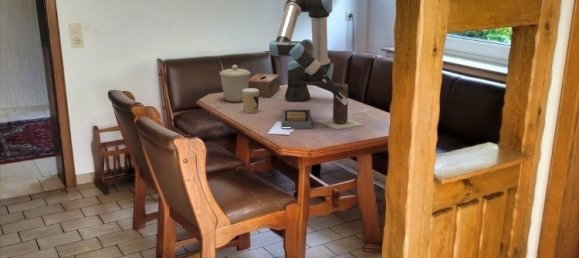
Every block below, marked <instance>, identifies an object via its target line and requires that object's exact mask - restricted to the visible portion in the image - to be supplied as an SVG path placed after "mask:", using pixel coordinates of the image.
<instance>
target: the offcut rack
mask: <svg viewBox="0 0 579 258" xmlns="http://www.w3.org/2000/svg"><path fill="white" fill-rule="evenodd" d="M287 112H305V117H306V121H287ZM282 127H291V128H299V129H298V130H302V129H303V130H312V117H311V110H310V109H282V111H281V128H282Z"/></svg>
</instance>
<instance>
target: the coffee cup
mask: <svg viewBox="0 0 579 258" xmlns="http://www.w3.org/2000/svg"><path fill="white" fill-rule="evenodd" d="M242 96H243V101H242V107H243V112H244V113H245V114H255V113H258V112H259V104H260V103H259V99H260V98H259V90H258V89H255V88H247V89H243V90H242Z"/></svg>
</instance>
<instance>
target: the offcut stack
mask: <svg viewBox="0 0 579 258" xmlns="http://www.w3.org/2000/svg"><path fill="white" fill-rule="evenodd" d="M287 121H306V117H305V112H287Z"/></svg>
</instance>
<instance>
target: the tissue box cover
mask: <svg viewBox="0 0 579 258" xmlns="http://www.w3.org/2000/svg"><path fill="white" fill-rule="evenodd" d="M280 77H281V76H280V74H274V73H273V74H271V73H257V74H255V75H254V76H252V77H249V86H248V88H255V89H258V90H259V97H262V98H261V99H271V97H273V96H274V95H275V94H276V93H277V92H279V91H280V90H279V89H281V87H280ZM278 90H279V91H278ZM273 94H274V95H273ZM272 95H273V96H272Z"/></svg>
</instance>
